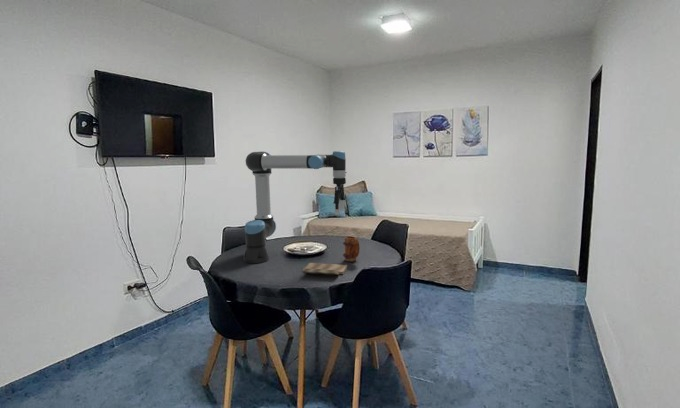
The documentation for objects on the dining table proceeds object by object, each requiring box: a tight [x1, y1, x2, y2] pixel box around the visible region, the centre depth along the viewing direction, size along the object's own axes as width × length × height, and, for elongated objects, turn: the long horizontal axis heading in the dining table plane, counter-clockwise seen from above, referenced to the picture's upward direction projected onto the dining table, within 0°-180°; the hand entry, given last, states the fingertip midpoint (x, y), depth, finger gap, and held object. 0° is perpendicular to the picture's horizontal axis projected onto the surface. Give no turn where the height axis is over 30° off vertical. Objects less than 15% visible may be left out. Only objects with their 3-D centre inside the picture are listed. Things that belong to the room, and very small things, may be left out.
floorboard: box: [304, 262, 348, 275], centre depth 206 cm, size 22×12×2 cm, turn 78°
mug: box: [342, 235, 360, 262], centre depth 219 cm, size 15×8×15 cm, turn 23°
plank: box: [302, 267, 339, 276], centre depth 196 cm, size 18×8×2 cm, turn 78°
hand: (339, 212), depth 224 cm, fingers open, 13 cm apart
